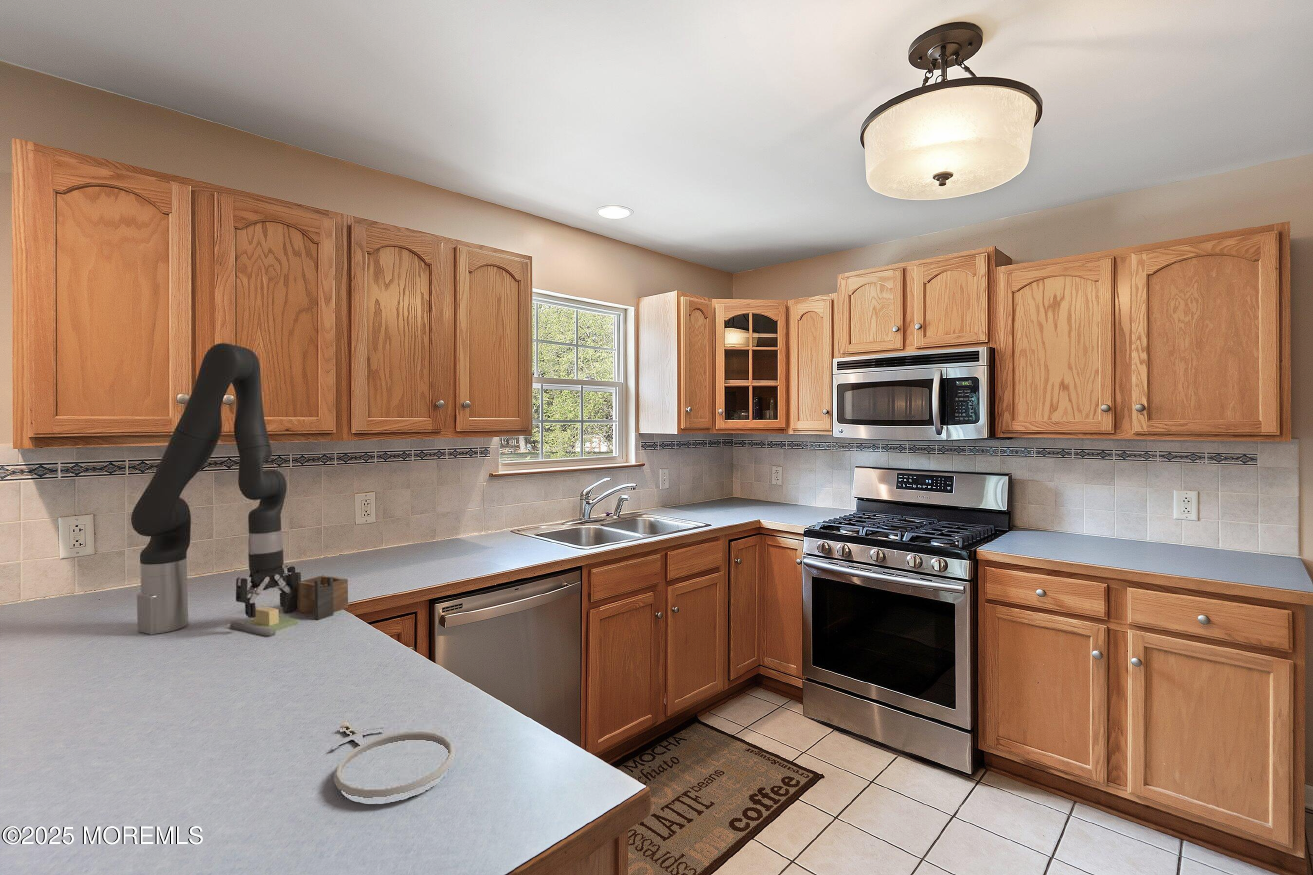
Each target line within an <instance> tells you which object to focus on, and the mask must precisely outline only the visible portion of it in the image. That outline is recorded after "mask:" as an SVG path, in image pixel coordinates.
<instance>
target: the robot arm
mask: <svg viewBox="0 0 1313 875" xmlns="http://www.w3.org/2000/svg"><path fill="white" fill-rule="evenodd" d="M198 370H199V371H198V374H197V377H196V380H195V383H194V385H193V386H194V387H193V389H192V392H191V393H190V395H189V396H190V397H189V398H188V400H187V403H186V405H185V408H184V410H183V412H182V414H181V417H180V418H179V420H178V422H177V424H176V426H175V428H174V431H173V432H172V434H171V436H170V438H169V442H168V444H167V447H166V449H165V451H164V453H163V455H162V457H161V459H160V461H159V463H158V466H157V467H156V469H155V472H154V473H153V476H152V478H151V480H150V482H148V485H147V486H146V488H145V489H144V491H143V493H142V494H141V496H140V498H139V499H138V501H137V502H136V504H135V506H134V507H133V510H132V511H131V517H130V524H131V526H132V529H133V530H134V531H135V533H137V534H138V535H139V536H143V537H150V539H149V542H148V543H147V545H146V546H145V547H144V548H143V549H142V550H141V551H140V553H139V568H140V569H139V571H140V572H139V573H140V575H139V576H140V592H138V593H137V594H136V610H137V611H136V612H137V617H136V618H137V632H139V633H142V634H143V633H144V634H148V635H151V636H152V635H157V634H161V633H162V634H163V633H169V632H173V631H174V632H175V631H176V630H177V631H178V630H180V629H183V628H186V626H188V625H189V602H188V601H189V600H188V599H189V597H188V595H189V594H188V560H187V558H188V556H187V552H188V549H189V547H190V544H191V529H192V528H191V527H192V525H191V524H192V518H191V517H192V516H191V514H192V513H191V510H190V509H191V508H190V507H189V505H188V503H187V501H186V500H185V499H184V498H182V497H180V496H181V494H182V493H183V491H184V490H185V487H186V486H187V485H188V484H189V482H190V481H191V480H192V479H194V477H195V476H196V475H197V474H198V473H199V471H200V470H201V469H202V468H203V467H204V466H205V465H206V464H207V463H208V461H209V460H210V459H211V457H212V455H213V454H214V451H215V449H216V447H217V445H218V442H219V441H220V439H221V435H222V432H223V418H222V417H223V416H222V407H223V406H222V405H223V400H224V398H225V395H226V394H227V392H228V390H229V388H230V386H231V385H232V387H233V390H234V392H235V396H236V411H235V417H234V423H233V434H234V439H235V440H234V441H235V444H236V448H237V452H238V455H239V462H238V475H237V476H238V477H237V478H238V480H237V485H238V488H239V491H240V492H241V494H242V496H244V498H246V499H248V500H250V501H257V500H259V503H258V505H257V506H256V507H255V508H253V509H251V510H250V511H249V512H248V516H247V518H248V519H247V520H248V521H247V524H248V525H247V526H248V539H247V551H248V552H247V555H248V558H247V559H248V569H249V575H248V576H246V577H237V578H236V580H235V582H236V583H235V601H236V603H241V604H243V603H244V612H245V613H244V614H245V616H246V617H247V618H248V619H249V618H250V619H254V617H256V610H255V608H256V602H255V601H256V599H257V598H258V596H260V595H261V593H262V592H263V591H266V590H267V591H268V590H269V589H274V588H276V589H277V590H278V591H279V607H280V608H282V609H283V608H286V607H288V604H289V603H290V599H289V592H290V591H291V590H292V589H295V588H296V587H297V583H296V567H295V566H293V565H292V566H291V565H285V567H283V566H284V562H285V561H284V559H285V558H284V538H283V533H282V516H281V515H282V511H283V507H284V503H285V499H286V494H287V489H288V487H287V486H288V484H287V480H286V478H285V476H284V474H283V473H282V472H281V471H279V470H277V469H266V470H264V462H265V461H267V460H269V459H270V458H272V456H273V452H272V451H273V450H272V447H271V441H270V438H269V434H268V430H267V426H266V421H265V420H266V419H265V415H264V413H265V412H264V407H263V406H264V405H263V395H262V394H263V393H262V392H263V391H262V381H261V380H262V379H261V378H262V375H261V374H262V373H261V365H260V360H259V358H258V355H257V354H256V353H255V352H254V351H253V350H251V349H250V348H247V347H244V346H239V345H236V344H230V343H227V342H220V343H217V344H214V345H213V346H211V347H210V348H209V349H207V351H206V353H205V355H204V356H203V359H202V361H201V363H200V367H199V369H198ZM284 575H285V577H286V583H285V582H284V581H283V580H282V576H284ZM249 585H250V586H249ZM248 586H249V587H248Z"/></svg>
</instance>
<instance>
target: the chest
mask: <svg viewBox="0 0 1313 875" xmlns="http://www.w3.org/2000/svg"><path fill="white" fill-rule="evenodd" d="M295 572H296V571H295ZM301 573H302V572H300V571H297V572H296V583H297V587H296V588H295V589H292V590H291V591H290V592H289V599H290V603H289V604H288V607H286V608H282V613H283V614H289V613H292V612H295V611H297V612H300V613H301V612H302V613H305V614H311V615H314V619H315V620H316V621H319V620H322V619H325V618H328V617H332V616H334V613H335V612H339V611H342V610H345V609H347V608H349V580H348V578H342V577H337V576H330V575H319V576H316V577H311V578H307V579H304V580H302V574H301ZM281 579H282V580H283V581H284V582H285V583H286V577H285V575H284V574H283V576H282V578H281Z"/></svg>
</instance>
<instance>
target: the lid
mask: <svg viewBox="0 0 1313 875" xmlns="http://www.w3.org/2000/svg"><path fill="white" fill-rule="evenodd" d="M255 610H256V617H254V618H253V619H252V620H249V621H246V622H239V621H232V622H231V623H230V625H229V628H230V629H231V630H232V629H233V630H237V631H242V632H246V633H251V634H254V635H260V636H262V637H263V636H264V637H268V638H271V637H274V636H275V635H277V634H276V633H277V631H281V630H286V629H288V628H290V627H293V626H296V625H298V624H299V619H297V618H293V617H288V616H283V615H280V614H279V609H278V608H274V607H270V606H269V607H268V606H264V605H263V606H260V607H255Z"/></svg>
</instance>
